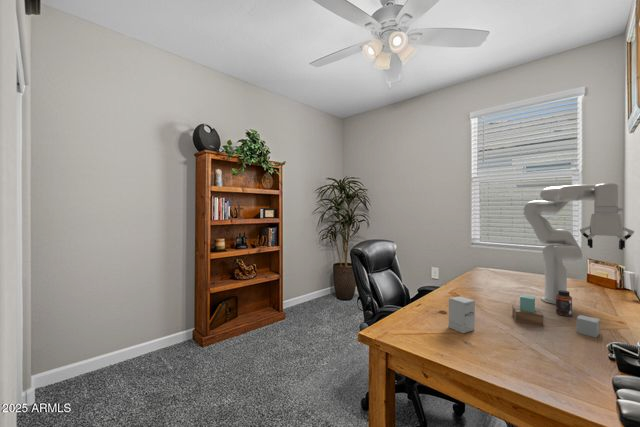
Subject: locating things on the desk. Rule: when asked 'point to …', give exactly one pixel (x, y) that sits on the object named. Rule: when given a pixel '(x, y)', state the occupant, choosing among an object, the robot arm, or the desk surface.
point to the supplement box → (461, 314)
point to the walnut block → (528, 316)
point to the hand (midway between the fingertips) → (605, 248)
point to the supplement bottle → (564, 303)
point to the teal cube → (527, 303)
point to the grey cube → (587, 325)
